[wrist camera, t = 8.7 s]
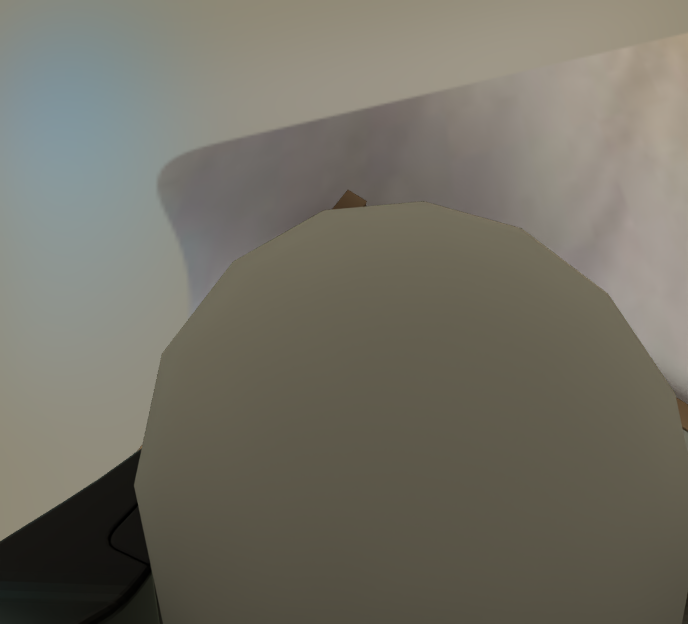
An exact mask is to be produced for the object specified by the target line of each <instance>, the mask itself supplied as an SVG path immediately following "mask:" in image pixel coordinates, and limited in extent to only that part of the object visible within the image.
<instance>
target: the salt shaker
mask: <svg viewBox="0 0 688 624" xmlns="http://www.w3.org/2000/svg"><path fill="white" fill-rule="evenodd" d="M134 487H135V492H136V497H137V502H138V506H139V511H140V516H141V521H142V525H143V530H144V535H145V540H146V545H147V549H148V554H149V559H150V564H151V568H152V573H153V578H154V583H155V587H156V592H157V597H158V602H159V607H160V611H161V616H162V621H163V624H682V620H683V615H684V609H685V604H686V599H687V593H688V452H687V448H686V443H685V438H684V433H683V429H682V424H681V419H680V414H679V410H678V405H677V400H676V395H675V393H674V391H673V390H672V388H671V387H670V385H669V384H668V382H667V381H666V379H665V378H664V376H663V375H662V373H661V372H660V370H659V369H658V367H657V366H656V364H655V363H654V361H653V360H652V358H651V357H650V355H649V354H648V352H647V351H646V349H645V348H644V346H643V345H642V343H641V342H640V341H639V339H638V338H637V336H636V335H635V333H634V332H633V330H632V329H631V327H630V326H629V324H628V323H627V321H626V320H625V318H624V317H623V315H622V314H621V312H620V311H619V309H618V308H617V306H616V305H615V303H614V302H613V300H612V299H611V297H610V296H609V295H608V293H606V292H605V291H604V290H602V289H601V288H600V287H598V286H597V285H596V284H594V283H593V282H592V281H590V280H589V279H588V278H586V277H585V276H584V275H582V274H581V273H580V272H578V271H577V270H576V269H574V268H573V267H572V266H571V265H569V264H568V263H567V262H565V261H564V260H563V259H561V258H560V257H559V256H557V255H556V254H555V253H553V252H552V251H551V250H549V249H548V248H547V247H545V246H544V245H543V244H541V243H540V242H539V241H537V240H536V239H535V238H533V237H532V236H531V235H529V234H528V233H527V232H526V231H524V230H523V229H522V228H518V227H515V226H511V225H507V224H504V223H500V222H497V221H493V220H489V219H486V218H482V217H478V216H475V215H471V214H468V213H464V212H460V211H457V210H453V209H450V208H446V207H442V206H439V205H435V204H431V203H428V202H424V201H421V202H410V203H399V204H388V205H377V206H366V207H355V208H344V209H333V210H324V211H322V212H320V213H318V214H316V215H315V216H313V217H311V218H309V219H308V220H306V221H304V222H302V223H301V224H299V225H297V226H295V227H293V228H292V229H290V230H288V231H286V232H285V233H283V234H281V235H279V236H278V237H276V238H274V239H272V240H271V241H269V242H267V243H265V244H263V245H262V246H260V247H258V248H256V249H255V250H253V251H251V252H249V253H248V254H246V255H244V256H242V257H240V258H239V259H237V260H235V261H233V262H232V264H231V265H230V266H229V268H228V269H227V270H226V272H225V273H224V274H223V275H222V277H221V278H220V279H219V281H218V282H217V283H216V284H215V286H214V287H213V288H212V290H211V291H210V292H209V294H208V295H207V296H206V297H205V299H204V300H203V301H202V303H201V304H200V305H199V306H198V308H197V309H196V310H195V312H194V313H193V314H192V316H191V317H190V318H189V319H188V321H187V322H186V323H185V325H184V326H183V327H182V328H181V330H180V331H179V332H178V334H177V335H176V336H175V337H174V339H173V340H172V341H171V343H170V344H169V345H168V347H167V348H166V349H165V351H164V352H163V353H162V356H161V361H160V366H159V370H158V374H157V379H156V384H155V389H154V393H153V398H152V403H151V408H150V412H149V417H148V422H147V427H146V431H145V436H144V441H143V445H142V450H141V455H140V459H139V464H138V469H137V474H136V478H135V483H134Z"/></svg>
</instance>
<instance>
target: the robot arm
mask: <svg viewBox="0 0 688 624" xmlns="http://www.w3.org/2000/svg"><path fill="white" fill-rule="evenodd" d="M141 450H142V448H141V449H140V450H138V451H137V452H136V453H134V454H133V455H132V456H130V457H129V458H128V459H126V460H125V461H123V462H122V463H121V464H119V465H118V466H116V467H115V468H114V469H112V470H111V471H109V472H108V473H107V474H105V475H104V476H102V477H101V478H100V479H98V480H97V481H95V482H94V483H92V484H90V485H89V486H87V487H86V488H84V489H83V490H81V491H80V492H78V493H77V494H75V495H73V496H72V497H70V498H69V499H67V500H66V501H64V502H63V503H61V504H59V505H58V506H56V507H55V508H53V509H51V510H50V511H48V512H47V513H45V514H43V515H42V516H40V517H39V518H37V519H35V520H34V521H32V522H30V523H29V524H27V525H26V526H24V527H22V528H21V529H19V530H18V531H16V532H14V533H13V534H11V535H10V536H8V537H6V538H5V539H3V540H2V541H0V624H163V621H162V616H161V611H160V607H159V602H158V597H157V592H156V587H155V583H154V578H153V573H152V568H151V564H150V559H149V554H148V549H147V545H146V540H145V535H144V530H143V525H142V521H141V516H140V511H139V506H138V502H137V497H136V492H135V487H134V483H135V478H136V474H137V469H138V464H139V459H140V455H141ZM682 624H688V593H687V599H686V604H685V609H684V615H683V620H682Z"/></svg>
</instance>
